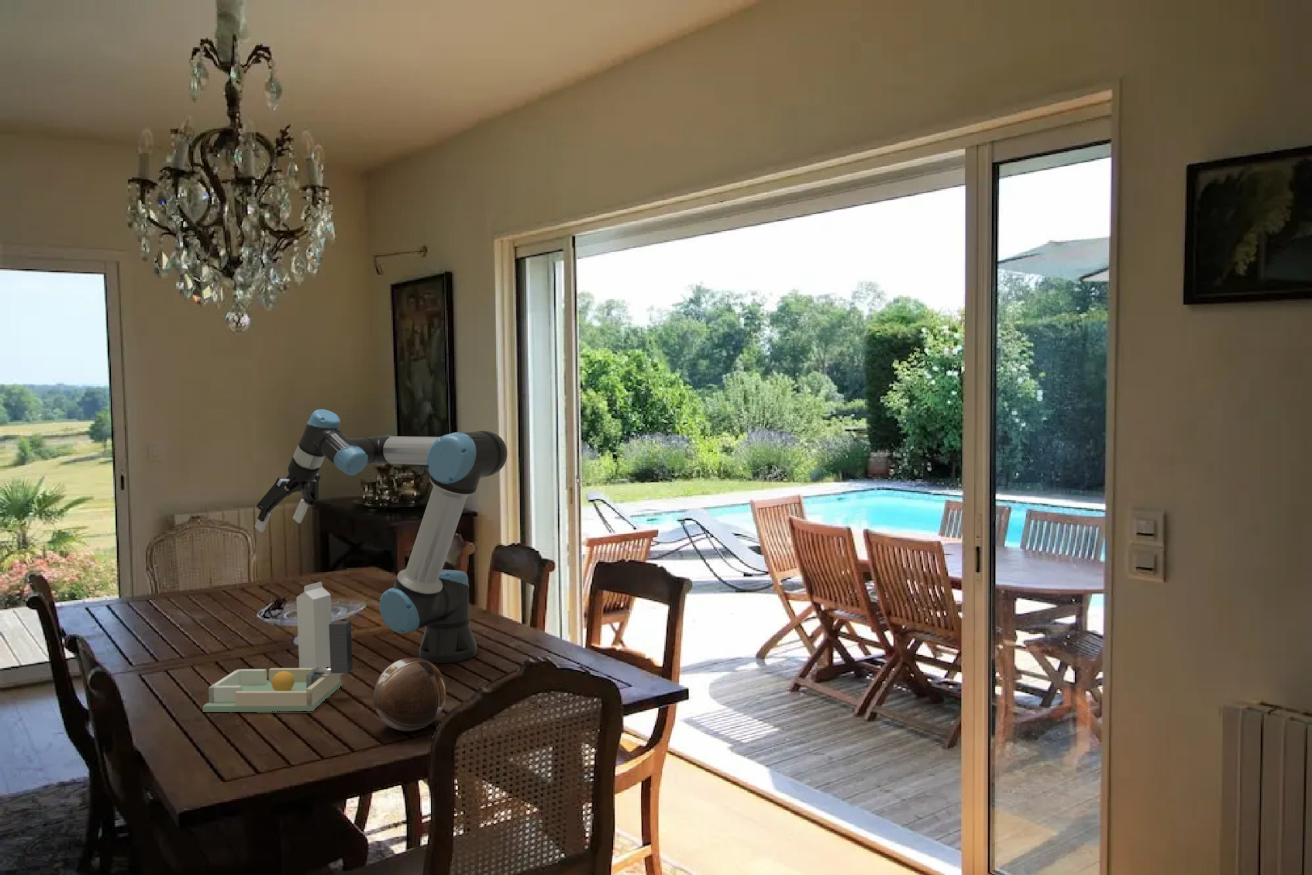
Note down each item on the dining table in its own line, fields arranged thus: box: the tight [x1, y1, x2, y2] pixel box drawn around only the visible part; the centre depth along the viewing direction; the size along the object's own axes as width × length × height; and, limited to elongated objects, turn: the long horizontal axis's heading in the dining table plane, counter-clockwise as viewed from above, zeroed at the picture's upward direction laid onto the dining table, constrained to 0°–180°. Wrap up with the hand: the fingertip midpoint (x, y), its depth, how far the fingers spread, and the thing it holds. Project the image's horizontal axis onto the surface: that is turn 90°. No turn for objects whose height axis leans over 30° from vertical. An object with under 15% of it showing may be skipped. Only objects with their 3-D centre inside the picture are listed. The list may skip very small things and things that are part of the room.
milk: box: [296, 581, 333, 668], centre depth 241 cm, size 6×6×22 cm
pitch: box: [202, 667, 343, 714], centre depth 218 cm, size 25×18×5 cm
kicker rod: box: [306, 620, 353, 688], centre depth 217 cm, size 9×6×16 cm, turn 88°
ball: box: [272, 671, 295, 691], centre depth 217 cm, size 5×5×5 cm
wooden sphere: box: [372, 657, 448, 732], centre depth 197 cm, size 15×15×15 cm
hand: (278, 524), depth 257 cm, fingers open, 13 cm apart
